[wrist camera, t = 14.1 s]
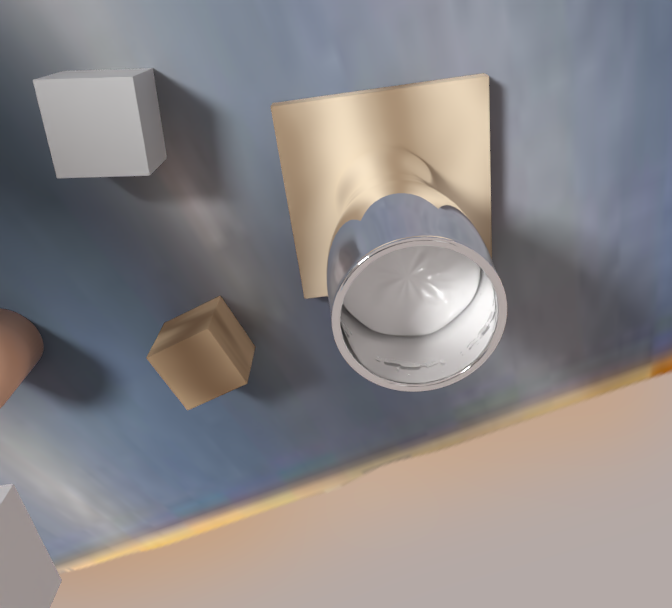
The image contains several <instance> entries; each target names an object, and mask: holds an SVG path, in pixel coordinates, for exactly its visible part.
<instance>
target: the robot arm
mask: <svg viewBox="0 0 672 608" xmlns="http://www.w3.org/2000/svg"><path fill="white" fill-rule="evenodd" d="M61 581H62V579H61V578H60V576H59V574H58V572H57V570H56V568H55V566H54V564H53V562H52V560H51V558H50V556H49V554H48V552H47V550H46V548H45V546H44V544H43V542H42V540H41V538H40V536H39V534H38V532H37V530H36V528H35V526H34V524H33V522H32V520H31V518H30V516H29V514H28V512H27V510H26V508H25V506H24V504H23V502H22V500H21V498H20V496H19V494H18V492H17V490H16V488H15V486H14V484H8V485H0V608H50V606H51V604H52V602H53V600H54V597H55V595H56V592H57V590H58V588H59V586H60V583H61Z"/></svg>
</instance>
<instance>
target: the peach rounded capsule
mask: <svg viewBox="0 0 672 608" xmlns="http://www.w3.org/2000/svg"><path fill="white" fill-rule="evenodd" d="M42 353H43V340H42V337H41V335H40V333H39V331H38V330H37V328H36V327H35V326H34V325H33V324H32V323H31V322H30V321H29V320H28V319H27V318H25V317H24V316H22V315H20V314H18V313H16V312H13V311H11V310H7V309H0V408H1V407H2V406H3V405H4V404H5V403H6V401H7V400H8V399H9V398H10V396H11V395H12V394H13V393H14V391H15V390H16V389H17V388H18V386H19V385H20V384H21V383H22V381H23V380H24V379H25V377H26V376H27V375H28V374H29V372H30V371H31V370H32V369H33V367H34V366H35V365H36V364H37V362H38V361H39V360H40V358H41V356H42Z"/></svg>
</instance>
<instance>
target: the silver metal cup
mask: <svg viewBox="0 0 672 608" xmlns="http://www.w3.org/2000/svg"><path fill="white" fill-rule="evenodd" d="M335 207H336V211H337V215H338V218H339V221H338V223H337V225H336V227H335V230H334V233H333V236H332V239H331V242H330V245H329V250H328V257H327V268H326V281H327V295H328V302H329V308H330V313H331V324H332V332H333V336H334V340H335V342H336V345H337V347H338V349H339V351H340V353H341V355H342V356H343V358H344V359H345V361H346V362H347V363H348V364H349V365H350V366H351V367H352V368H353V369H354V370H355V371H356V372H357V373H358V374H360V375H361V376H363V377H364V378H366V379H367V380H369V381H371V382H373V383H375V384H377V385H380V386H383V387H386V388H389V389H393V390H399V391H409V392H418V391H428V390H434V389H438V388H442V387H445V386H448V385H451V384H453V383H455V382H458V381H460V380H461V379H463V378H465V377H467V376H468V375H470V374H471V373H473V372H474V371H475V370H477V369H478V368H479V367H480V366H481V365H482V364H483V363H484V362H485V361H486V360H487V359H488V358H489V357H490V355H491V354H492V353H493V351H494V350H495V348H496V347H497V345H498V343H499V341H500V339H501V337H502V335H503V332H504V329H505V325H506V320H507V298H506V293H505V290H504V287H503V284H502V282H501V279H500V277H499V276H498V274H497V272H496V269H495V266H494V264H493V261H492V259H491V256H490V254H489V251H488V249H487V247H486V245H485V243H484V241H483V239H482V237H481V235H480V234H479V232H478V230H477V229H476V227H475V226H474V224H473V223H472V222H471V220H470V219H469V218H468V216H467V215H466V214H465V213H464V211H463V210H462V209H461V208H460V207H459V206H457V205H456V204H455V203H454V202H453V201H451V200H450V199H449V198H448V197H447V196H445V195H444V194H442V193H441V192H439V191H438V188H437V184H436V181H435V178H434V175H433V173H432V171H431V170H430V168H429V167H428V166H427V165H426V163H425V162H424V161H422V160H421V159H420V158H419V157H417V156H416V155H414V154H412V153H411V152H408V151H406V150H403V149H399V148H392V147H385V148H378V149H373V150H370V151H368V152H366V153H363V154H362V155H360V156H358V157H357V158H356V159H354V160H353V161H352V162H351V163H350V164H349V165H348V166H347V167H346V169H345V170H344V171H343V173H342V175H341V176H340V178H339V181H338V183H337V187H336V191H335Z"/></svg>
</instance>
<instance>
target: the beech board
mask: <svg viewBox="0 0 672 608" xmlns="http://www.w3.org/2000/svg"><path fill="white" fill-rule="evenodd" d="M271 112H272V117H273V123H274V129H275V134H276V140H277V146H278V151H279V157H280V163H281V168H282V174H283V180H284V185H285V191H286V197H287V202H288V208H289V213H290V219H291V225H292V230H293V236H294V242H295V247H296V253H297V259H298V264H299V270H300V276H301V281H302V287H303V293H304V298H305V299H307V298H315V297H323V296H328V295H327V281H326V268H327V257H328V250H329V245H330V242H331V239H332V236H333V233H334V230H335V227H336V225H337V223H338V221H339V218H338V215H337V211H336V207H335V191H336V187H337V183H338V181H339V178H340V176H341V175H342V173H343V171H344V170H345V169H346V167H347V166H348V165H349V164H350V163H351V162H352V161H353V160H354V159H356V158H357V157H358V156H360V155H362V154H363V153H366V152H368V151H370V150H373V149H378V148H385V147H392V148H399V149H403V150H406V151H408V152H411V153H412V154H414V155H416V156H417V157H419V158H420V159H421V160H422V161H424V162H425V163H426V165H427V166H428V167H429V168H430V170H431V171H432V173H433V175H434V178H435V181H436V184H437V188H438V191H439V192H441V193H442V194H444V195H445V196H447V197H448V198H449V199H450V200H451V201H453V202H454V203H455V204H456V205H457V206H459V207H460V208H461V209H462V210H463V211H464V213H465V214H466V215H467V216H468V218H469V219H470V220H471V222H472V223H473V224H474V226H475V227H476V229H477V230H478V232H479V234H480V235H481V237H482V239H483V241H484V243H485V245H486V247H487V249H488V251H489V254H490V256H491V259H492V239H491V175H490V111H489V76H488V75H486V74H484V73H483V74H476V75H469V76H462V77H454V78H447V79H440V80H433V81H426V82H419V83H412V84H405V85H398V86H391V87H384V88H377V89H370V90H362V91H355V92H348V93H341V94H334V95H327V96H320V97H313V98H306V99H299V100H292V101H285V102H278V103H272V105H271Z"/></svg>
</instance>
